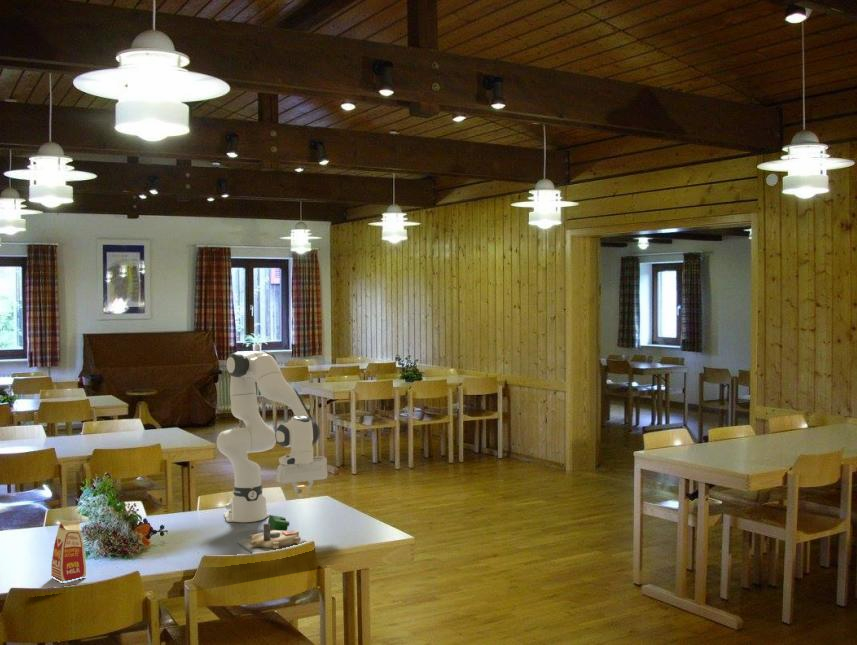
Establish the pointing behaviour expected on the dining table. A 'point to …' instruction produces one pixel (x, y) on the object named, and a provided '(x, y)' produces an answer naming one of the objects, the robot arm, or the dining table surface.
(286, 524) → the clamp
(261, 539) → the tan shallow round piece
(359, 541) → the dining table surface
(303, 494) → the beige small block
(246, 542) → the base plate
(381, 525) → the dining table surface
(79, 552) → the milk carton
